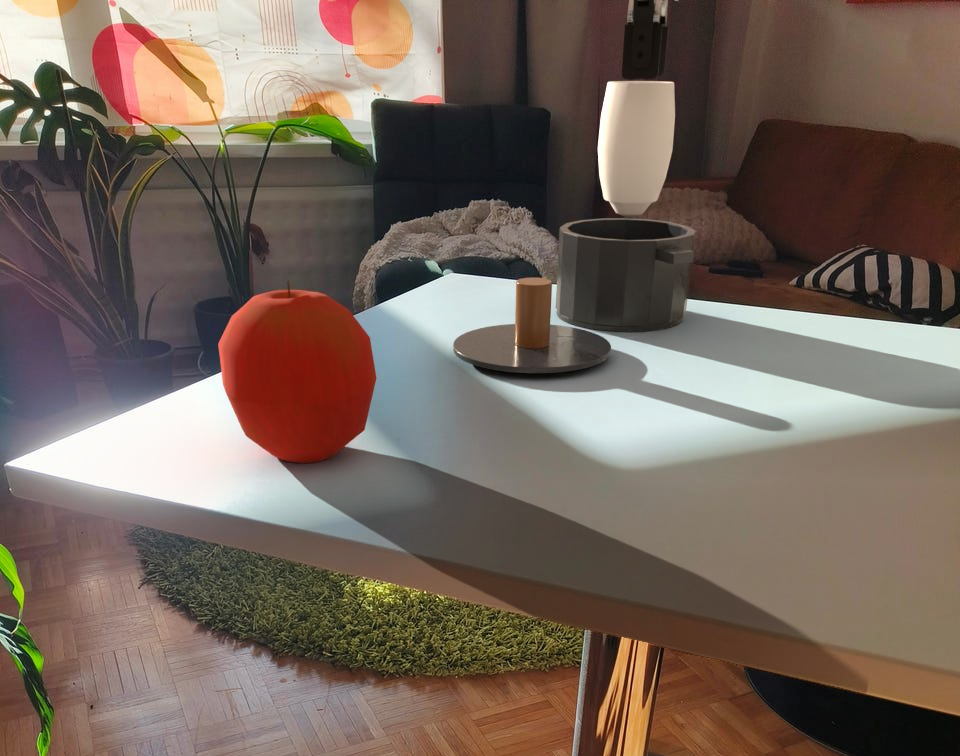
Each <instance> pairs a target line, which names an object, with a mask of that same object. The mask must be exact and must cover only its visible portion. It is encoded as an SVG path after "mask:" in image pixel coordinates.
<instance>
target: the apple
mask: <svg viewBox="0 0 960 756" xmlns="http://www.w3.org/2000/svg"><path fill="white" fill-rule="evenodd" d="M286 284H287V289H278V290H272V291H267V292H264V293H260V294H256V295H254V296H252V297H251V298H250V299H249V300H248V301H246V303H244V305H242V306H241V307H240V308H238V310H237V311H236V312H235V313H233V314H232V315H231V316H230V319H229V321H228V323H227V324H226V327H225V329H224V331H223V334H222V335H221V337H220V339H219V342H218V352H219V363H220V370H221V371H220V372H221V380H222V386H223V388H224V392H225V394H226V396H227V399H228V401H229V403H230V405H231V408H232V410H233V412H234V414H235V416H236V419H237V421H238V423H239V425H240V428H241V430H242V432H243V433H244V435H245V437H246V438H248V440H251V441H252V442H253V443H255V444H256V445H258V446H259V447H260V448H262V449H263V450H265V451H266V452H267V453H269V454H270V455H271V456H273V457H275V458H277V459H278V460H281V461H286V462H291V463H300V464H311V463H320V462H322V461H325V460H327V459H330V458H332V457H333V456H335V455H336V454H337V453H338V452H339V451H341V450H342V449H343V448H344V447H346V446H347V445H348V444H349V443H351V442H352V441H353V440H355V439H356V438H357V437H358V436H359V435H360V434H362V433H363V432H364V431H365V430H366V425H367V421H368V416H369V414H370V408H371V404H372V400H373V395H374V391H375V387H376V382H377V372H376V366H375V360H374V353H373V347H372V342H371V336H369V334H368V333H367V331H366V330H365V329H364V328H363V326H362V325H361V324H360V322H359V321H358V320H357V318H356V317H355V316H354V314H353V313H352V312H351V311H350V310H349V309H348V308H347V307H345V306H344V305H342V304H340V303H339V302H337V301H336V300H335V299H333V298H332V297H330V296H329V295H327V294H325V293H321V292H319V291H312V290H311V291H310V290H303V289H291V287H290V280H289V279H288V280H287V281H286Z"/></svg>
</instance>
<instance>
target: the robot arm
mask: <svg viewBox="0 0 960 756" xmlns="http://www.w3.org/2000/svg"><path fill="white" fill-rule="evenodd" d="M674 1H675V2H679V1H680V0H674ZM627 6H628V8H627V17H626V19H627V20H626V24H624V34H623V45H622V46H623V47H622V63H621V77H622V78H623V79H625V80H651V79H652V80H654V79H656V78H657V77H662V76H663V75H664V73H665V67H666V56H667V45H668V34H669V26H667V22H668V6H669V0H628V5H627Z"/></svg>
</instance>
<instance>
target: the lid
mask: <svg viewBox="0 0 960 756" xmlns="http://www.w3.org/2000/svg"><path fill="white" fill-rule="evenodd" d="M552 292H553V281H552V280H551V279H548V278H544V277H523V278H518V279H517V280H516V281H515V311H514V312H515V313H514V315H515V316H514V323H511V324H510V323H509V324H498V325H491V326H485V327H480V328H476V329H473V330H470V331H467V332H465V333H462V334H461V335H459V336H457V337H456V339H454V341H453V344H452V349H453V350H452V351H453V353H454V355H455V356H456V357H457V358H458V359H460V360H461V361H463V362H465V363H468V364H470V365H473V366H475V367H480V368H483V369H488V370H493V371H500V372H505V373H517V374H556V373H566V372H574V371H579V370H584V369H587V368H591V367H594V366H597V365H600V364H601V363H603V362H605V361H607V360H608V359H609V358H610V356H611V353H612V345H611V343H610V341H608V339H607V338H605V337H603V336H601V335H599V334H597V333H595V332H592V331H589V330H586V329H581V328H577V327H571V326H566V325H558V324H551V317H552V316H551V314H552V295H553V294H552Z"/></svg>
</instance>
